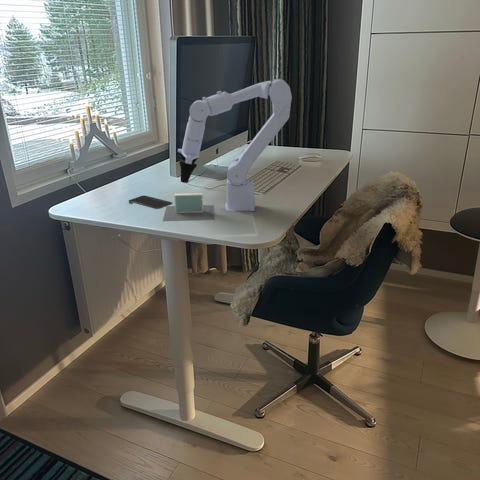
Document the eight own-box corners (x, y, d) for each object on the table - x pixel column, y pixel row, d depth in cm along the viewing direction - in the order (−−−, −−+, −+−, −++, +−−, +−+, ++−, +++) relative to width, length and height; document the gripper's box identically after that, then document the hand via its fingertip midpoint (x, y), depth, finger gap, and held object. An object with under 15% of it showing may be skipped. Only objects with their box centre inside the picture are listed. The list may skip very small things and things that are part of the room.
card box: (203, 210, 150) (202, 193, 148) (203, 212, 149) (202, 194, 146) (175, 211, 150) (174, 193, 147) (175, 212, 148) (174, 195, 146)
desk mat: (213, 206, 155) (213, 205, 155) (214, 221, 142) (214, 219, 142) (166, 207, 154) (166, 206, 154) (162, 222, 142) (162, 221, 141)
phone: (157, 209, 151) (127, 200, 160) (157, 212, 152) (127, 203, 160) (174, 202, 157) (143, 194, 165) (174, 205, 158) (144, 197, 166)
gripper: (182, 131, 151) (174, 170, 156) (179, 140, 138) (170, 182, 143) (203, 136, 152) (194, 174, 157) (202, 146, 139) (192, 187, 144)
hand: (184, 178), depth 150 cm, fingers open, 7 cm apart
